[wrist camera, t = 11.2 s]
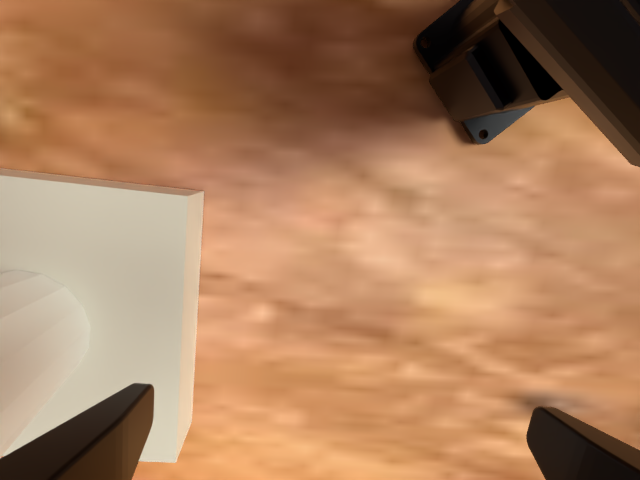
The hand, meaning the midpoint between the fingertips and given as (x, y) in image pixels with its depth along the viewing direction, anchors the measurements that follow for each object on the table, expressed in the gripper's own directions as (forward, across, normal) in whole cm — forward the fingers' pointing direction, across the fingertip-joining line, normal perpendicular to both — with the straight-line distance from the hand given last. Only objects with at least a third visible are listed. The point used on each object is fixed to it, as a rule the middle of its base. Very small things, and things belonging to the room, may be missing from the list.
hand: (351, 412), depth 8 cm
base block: (+12, +13, +4) cm, 18 cm away
